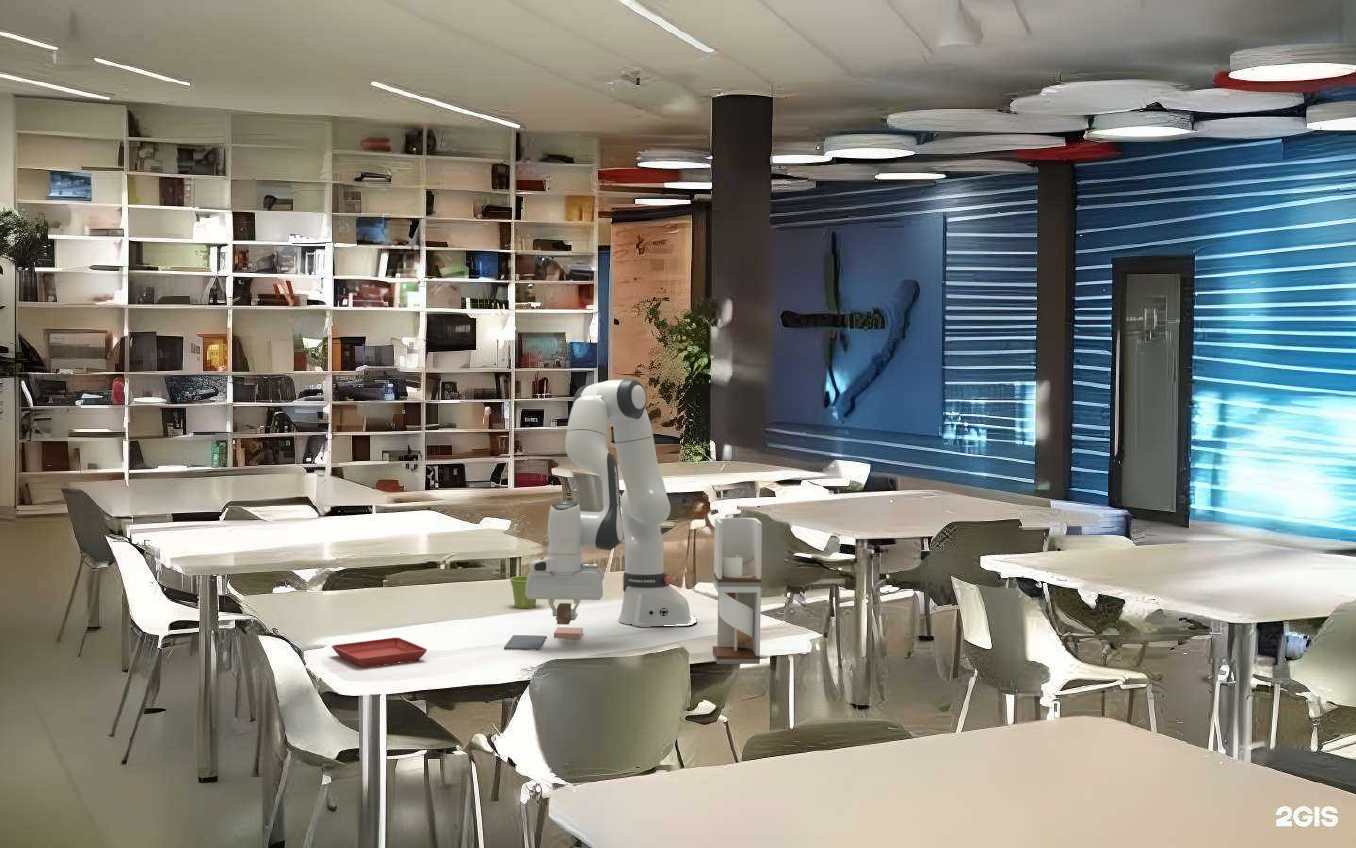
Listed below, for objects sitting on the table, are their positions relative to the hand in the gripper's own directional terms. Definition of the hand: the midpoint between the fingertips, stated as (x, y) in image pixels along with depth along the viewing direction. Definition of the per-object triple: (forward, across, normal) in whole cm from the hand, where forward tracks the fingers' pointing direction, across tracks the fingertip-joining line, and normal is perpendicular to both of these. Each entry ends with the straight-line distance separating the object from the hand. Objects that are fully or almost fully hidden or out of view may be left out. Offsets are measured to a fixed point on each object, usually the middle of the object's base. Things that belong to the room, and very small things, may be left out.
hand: (564, 616), depth 359 cm
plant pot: (+8, +18, -56) cm, 59 cm away
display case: (+8, -45, +12) cm, 47 cm away
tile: (+7, 0, -9) cm, 12 cm away
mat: (+8, +10, -2) cm, 13 cm away
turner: (+2, 0, -3) cm, 4 cm away
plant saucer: (+8, +44, +20) cm, 49 cm away
